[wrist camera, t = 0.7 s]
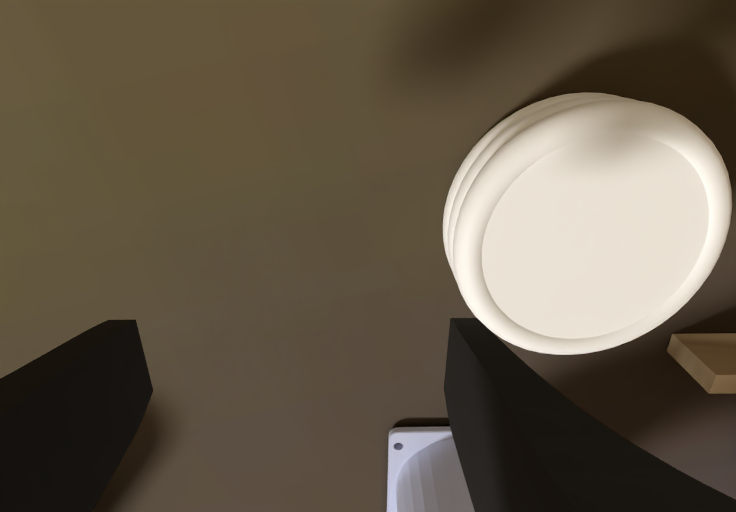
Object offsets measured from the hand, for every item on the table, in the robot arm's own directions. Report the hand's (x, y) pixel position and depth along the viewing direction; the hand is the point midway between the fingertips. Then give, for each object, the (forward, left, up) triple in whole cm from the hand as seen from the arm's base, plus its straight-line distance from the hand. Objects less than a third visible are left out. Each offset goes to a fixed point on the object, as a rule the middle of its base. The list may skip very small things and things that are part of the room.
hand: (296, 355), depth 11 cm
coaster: (0, -10, -10) cm, 14 cm away
